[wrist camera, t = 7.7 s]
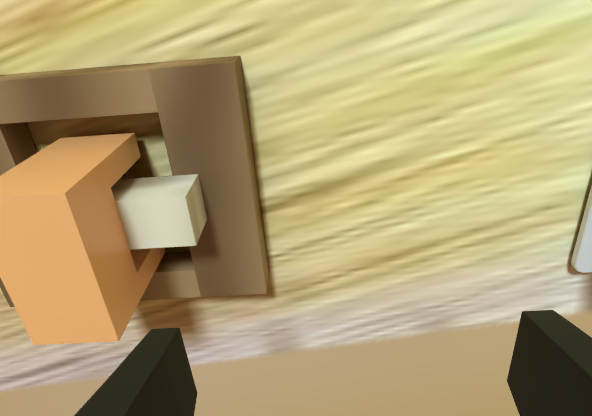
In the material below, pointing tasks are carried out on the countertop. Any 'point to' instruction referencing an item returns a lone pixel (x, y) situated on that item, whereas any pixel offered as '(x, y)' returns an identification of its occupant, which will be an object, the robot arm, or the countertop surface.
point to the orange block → (72, 241)
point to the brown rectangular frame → (183, 160)
